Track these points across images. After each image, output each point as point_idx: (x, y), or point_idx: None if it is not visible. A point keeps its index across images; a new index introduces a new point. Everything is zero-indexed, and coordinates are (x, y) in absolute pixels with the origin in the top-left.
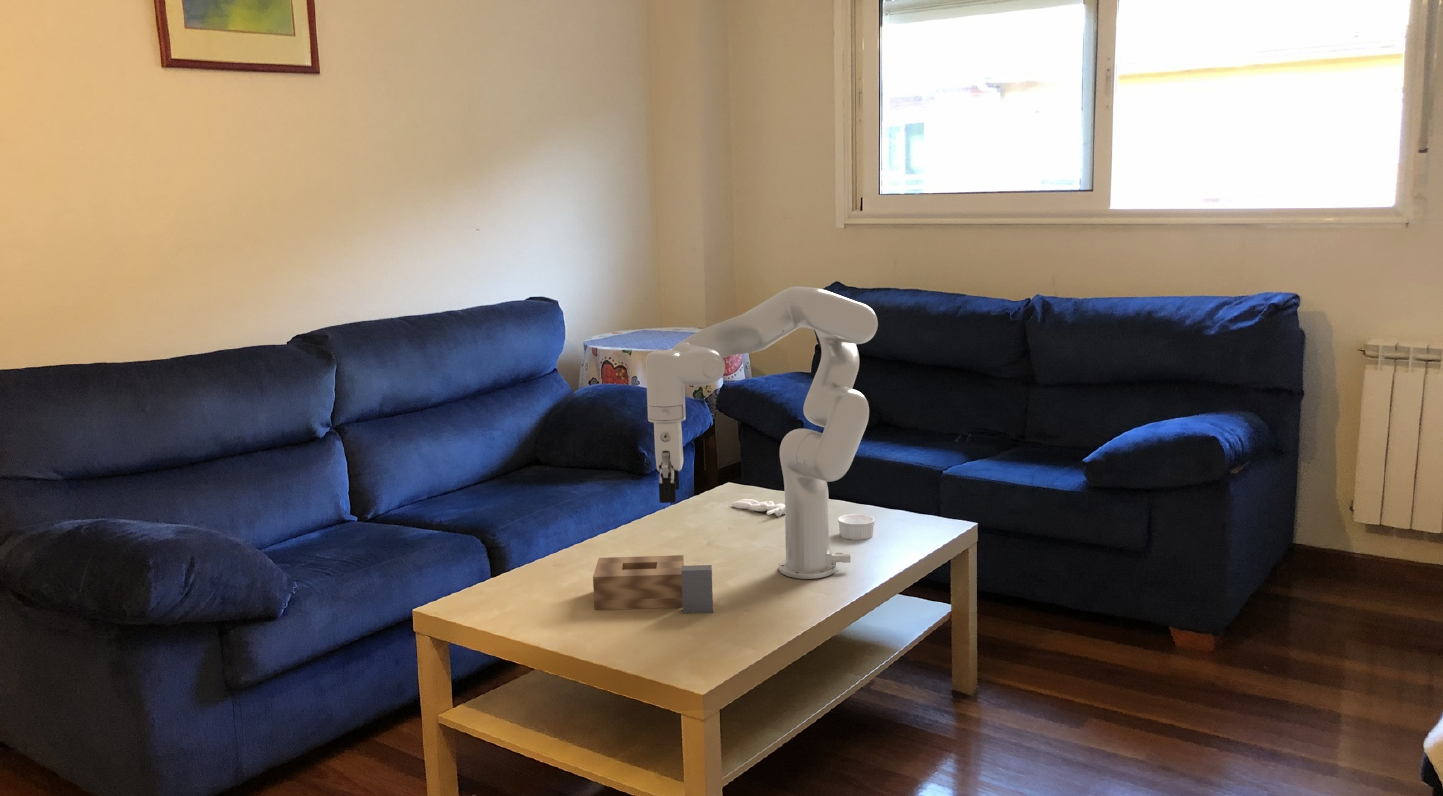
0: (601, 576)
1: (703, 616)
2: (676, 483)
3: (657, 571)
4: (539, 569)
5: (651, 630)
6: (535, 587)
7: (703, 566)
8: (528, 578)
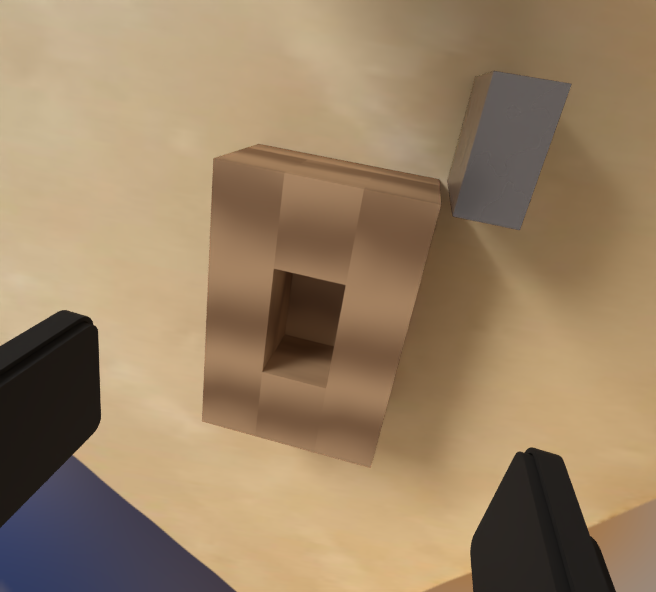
0: (373, 448)
1: None
2: (55, 365)
3: (378, 286)
4: (98, 454)
5: (591, 303)
6: (206, 479)
7: (502, 118)
8: (151, 480)
